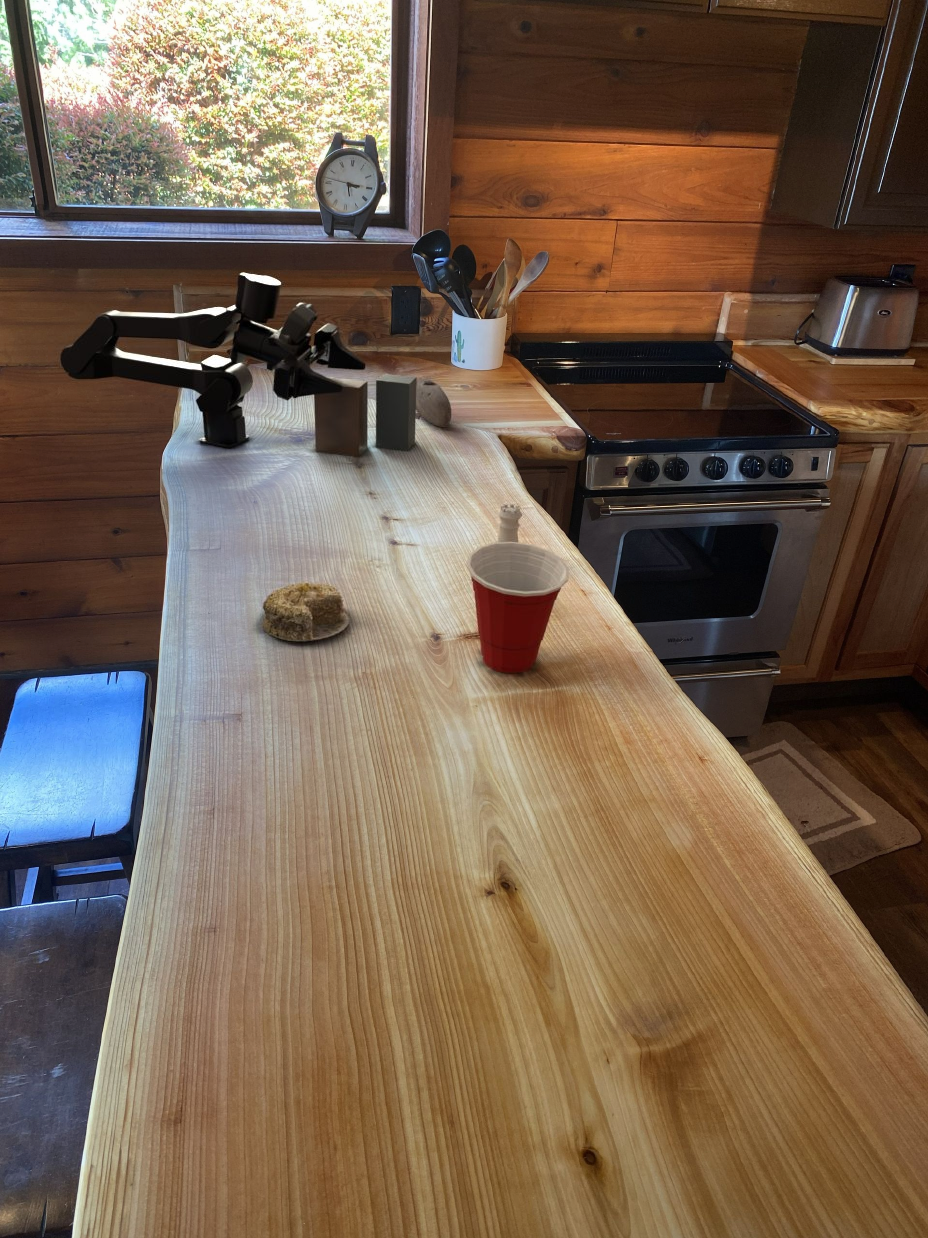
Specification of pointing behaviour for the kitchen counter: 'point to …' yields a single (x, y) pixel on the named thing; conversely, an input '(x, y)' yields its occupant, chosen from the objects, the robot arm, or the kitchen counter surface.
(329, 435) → the walnut block
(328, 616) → the cake
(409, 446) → the slate block
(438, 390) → the perforated stone tool
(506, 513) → the rook chess piece
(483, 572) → the plastic cup
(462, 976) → the kitchen counter surface
